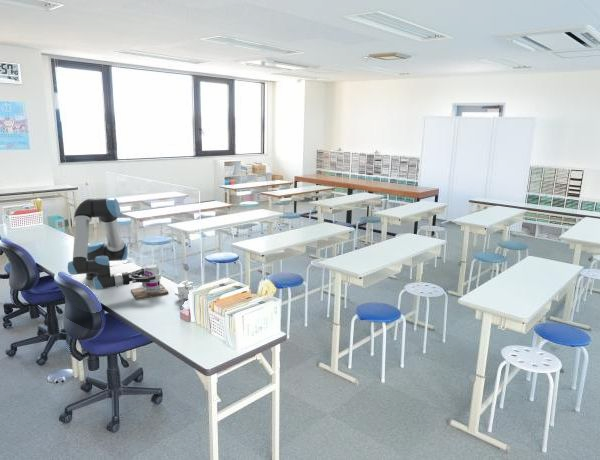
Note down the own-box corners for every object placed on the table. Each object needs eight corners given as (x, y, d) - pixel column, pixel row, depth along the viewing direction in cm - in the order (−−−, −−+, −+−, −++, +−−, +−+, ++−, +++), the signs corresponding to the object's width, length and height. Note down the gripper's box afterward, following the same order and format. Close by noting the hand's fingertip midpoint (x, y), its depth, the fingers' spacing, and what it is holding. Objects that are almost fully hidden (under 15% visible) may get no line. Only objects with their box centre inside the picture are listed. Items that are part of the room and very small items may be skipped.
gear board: (131, 291, 281) (130, 288, 281) (161, 286, 291) (161, 283, 291) (136, 300, 268) (136, 297, 268) (168, 293, 278) (168, 291, 278)
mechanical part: (184, 294, 277) (183, 276, 274) (198, 298, 271) (197, 279, 269) (170, 300, 268) (169, 281, 265) (185, 304, 262) (184, 285, 259)
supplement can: (152, 292, 275) (150, 269, 272) (143, 289, 279) (141, 267, 276) (162, 288, 282) (161, 265, 278) (153, 285, 286) (152, 263, 282)
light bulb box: (151, 284, 293) (149, 269, 291) (141, 284, 295) (140, 268, 292) (159, 279, 304) (158, 264, 301) (150, 278, 305) (148, 263, 302)
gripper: (118, 279, 280) (152, 273, 291) (126, 291, 260) (163, 285, 270) (117, 267, 278) (152, 262, 289) (125, 279, 258) (162, 273, 269)
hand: (157, 273), depth 280 cm, fingers open, 13 cm apart
